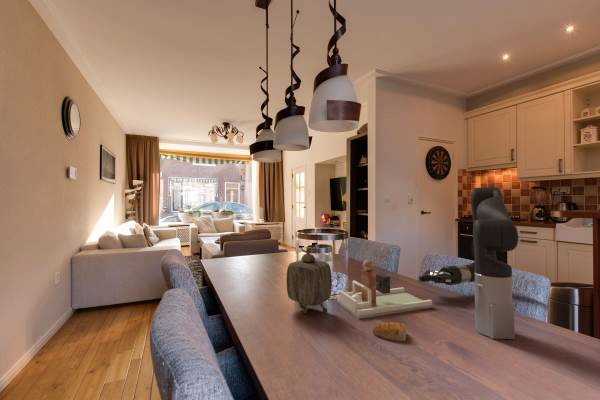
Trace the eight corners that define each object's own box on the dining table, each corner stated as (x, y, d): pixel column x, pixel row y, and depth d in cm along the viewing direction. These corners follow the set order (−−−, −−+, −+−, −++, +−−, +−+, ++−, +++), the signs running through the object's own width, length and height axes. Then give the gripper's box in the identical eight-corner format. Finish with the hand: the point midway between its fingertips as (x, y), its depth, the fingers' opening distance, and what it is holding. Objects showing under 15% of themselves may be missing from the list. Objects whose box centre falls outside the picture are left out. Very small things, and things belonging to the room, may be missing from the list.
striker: (382, 298, 111) (382, 257, 111) (390, 302, 106) (389, 259, 106) (360, 301, 108) (360, 258, 108) (367, 306, 104) (367, 261, 104)
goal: (355, 299, 112) (354, 279, 112) (372, 310, 100) (372, 289, 100) (339, 301, 110) (339, 281, 110) (355, 313, 98) (354, 291, 98)
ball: (361, 308, 103) (362, 296, 103) (350, 306, 103) (351, 295, 103) (359, 304, 107) (360, 293, 107) (349, 303, 107) (349, 292, 107)
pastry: (372, 339, 82) (371, 325, 82) (373, 329, 89) (373, 316, 89) (407, 343, 80) (406, 329, 80) (405, 332, 86) (405, 319, 86)
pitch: (402, 293, 121) (402, 287, 121) (432, 307, 105) (432, 300, 105) (337, 301, 112) (337, 295, 112) (358, 318, 96) (358, 311, 96)
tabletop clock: (332, 312, 102) (331, 241, 102) (317, 320, 95) (316, 244, 95) (300, 303, 111) (299, 238, 111) (284, 310, 104) (283, 241, 104)
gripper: (442, 262, 125) (409, 265, 120) (468, 269, 112) (432, 273, 107) (443, 279, 125) (409, 283, 120) (469, 288, 112) (432, 293, 107)
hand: (420, 278), depth 113 cm, fingers closed
